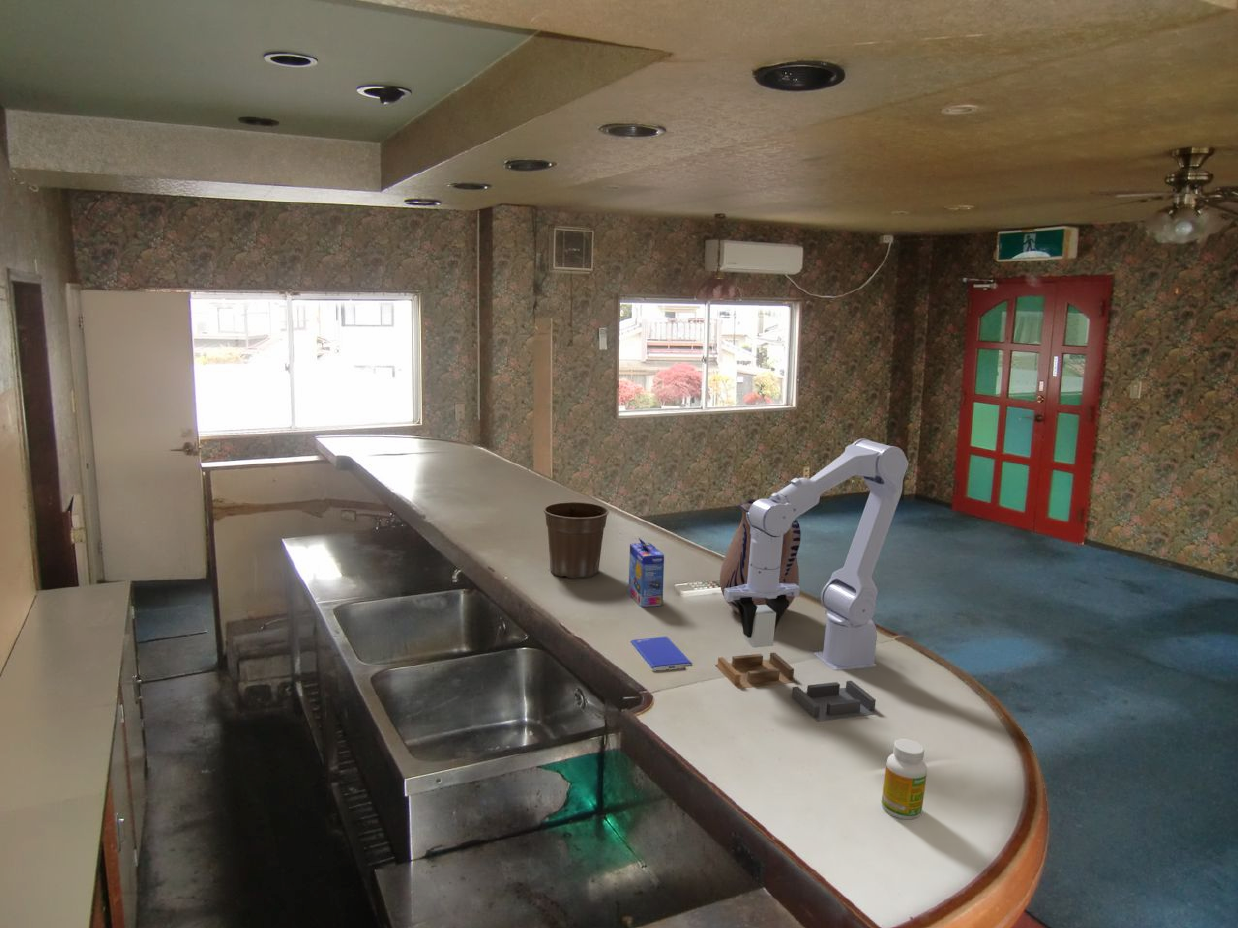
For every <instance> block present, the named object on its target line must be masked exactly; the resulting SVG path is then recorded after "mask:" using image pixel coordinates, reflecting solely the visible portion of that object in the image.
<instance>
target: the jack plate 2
mask: <svg viewBox="0 0 1238 928" xmlns="http://www.w3.org/2000/svg"><path fill="white" fill-rule="evenodd" d="M806 688H807V690H806V691H803V690H802V689H801V688H800V687H799V686H792V690H791V693H788V696H789V697H790V698H791V699H792V700H793V701H795V703H796V704H798V705H799V706H800V707H801V708H802V709H803V710H804V711H805V712H806V713H808V715H810V716H811V717H812V718H813V719H814V720H815V721H816V722H819V723H820V722H826V721H827V722H828V721H835V720H843V719H850V718H851V719H852V718H859V717H866V716H875V715H879V713H878V712H877V711H876V710H875V709H876V701H877V700H876V699H875V698H874V697H873V696H872V695H870V694H869V693H868V692H866V691H865V690H864V689H863V688H862V687H860V686H859V685H858V684H856V683H855V682H854V681H852V680H846V683H845V687H842V688H841V684H840V683H839V682H838V681H835V682H825V683H817V684H808V685H807V687H806Z"/></svg>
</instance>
